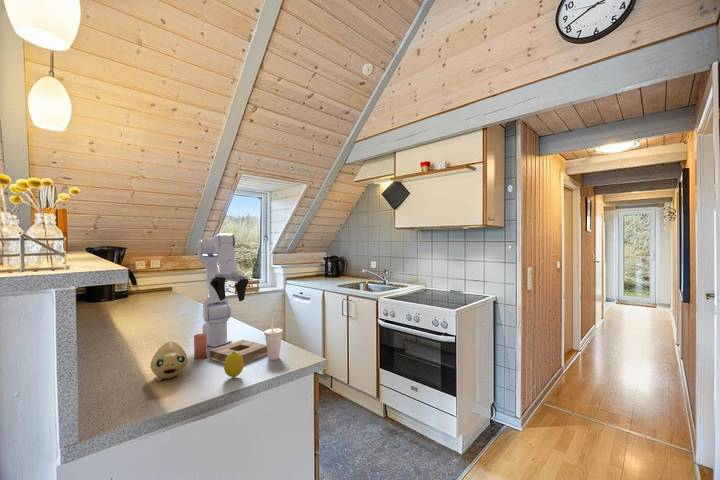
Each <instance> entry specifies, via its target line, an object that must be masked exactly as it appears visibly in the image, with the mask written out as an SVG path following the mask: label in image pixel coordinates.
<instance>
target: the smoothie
mask: <svg viewBox="0 0 720 480" xmlns="http://www.w3.org/2000/svg"><path fill="white" fill-rule="evenodd" d="M283 333H284V331H283V329H282V328H274V318H271V328H270V329H269V328H268V329H266V330H264V333H263V335H264V336H265V342H266V344H265V345H267V352H268V354H267V359H268V360H270V361H276V360H279V358H280V353H281V344H282V338H283V337H282V334H283Z"/></svg>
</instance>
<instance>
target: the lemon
mask: <svg viewBox="0 0 720 480" xmlns="http://www.w3.org/2000/svg"><path fill="white" fill-rule="evenodd" d="M244 364H245V363H244V362H243V358H242V356H241V355H240V354H239V353H236V352H232V353H231V354H229V355H228V356H227V357H226V359H225V362H224V363H223V368H224V373H225V375H226V376H228V377H230V378H232V379H236V378H237V377H238V376H239V375H241V373H243V369H244V367H245V366H244Z"/></svg>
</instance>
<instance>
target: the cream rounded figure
mask: <svg viewBox="0 0 720 480" xmlns="http://www.w3.org/2000/svg"><path fill="white" fill-rule="evenodd" d="M188 360H189V359H188V356H187V353H186V351H185V350H184V349H183V347H181V345H180V344H178V343H176V342H175V341H167V342H164V344H162V345H161V346H160V347H159V348H158V349H157V351H156V352H155V353H154V355H153V357H152V358H151V361H150V366H149V367H150V370H151V372H152V373H153V374H154V375H155V376H156V380H157V381H162V380H163V379H171V378H173V377H177V378H181V377H182V373H183V371H184V370H185V369H186V367H187V365H188Z"/></svg>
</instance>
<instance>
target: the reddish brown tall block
mask: <svg viewBox="0 0 720 480" xmlns="http://www.w3.org/2000/svg"><path fill="white" fill-rule="evenodd" d="M207 346H208V345H207V334H203V333H196V334H195V335H193V351H194V352H193V358H194V360H197V361H200V360H204V359H206V358H207V357H208V355H207V353H208V352H207V351H208V349H207Z"/></svg>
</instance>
